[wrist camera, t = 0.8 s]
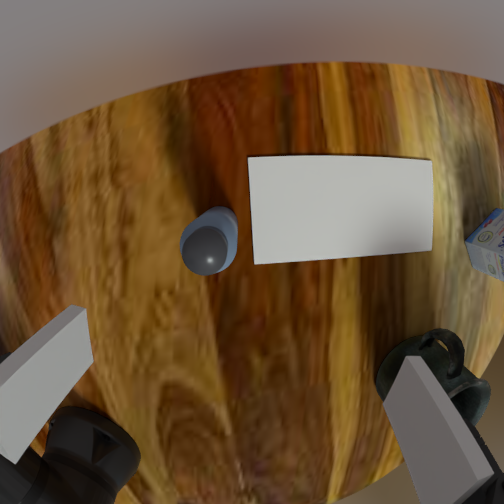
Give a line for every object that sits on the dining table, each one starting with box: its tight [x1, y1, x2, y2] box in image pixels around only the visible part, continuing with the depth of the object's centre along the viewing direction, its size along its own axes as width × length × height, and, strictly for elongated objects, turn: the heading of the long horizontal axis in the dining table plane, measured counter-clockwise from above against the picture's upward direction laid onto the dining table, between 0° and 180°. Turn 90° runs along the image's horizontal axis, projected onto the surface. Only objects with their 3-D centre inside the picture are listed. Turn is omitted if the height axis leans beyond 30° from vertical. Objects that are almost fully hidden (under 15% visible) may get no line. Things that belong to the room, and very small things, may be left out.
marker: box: [180, 206, 238, 275], centre depth 22 cm, size 3×3×12 cm
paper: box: [248, 156, 433, 264], centre depth 28 cm, size 20×10×1 cm, turn 93°
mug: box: [376, 328, 491, 426], centre depth 26 cm, size 11×15×12 cm
